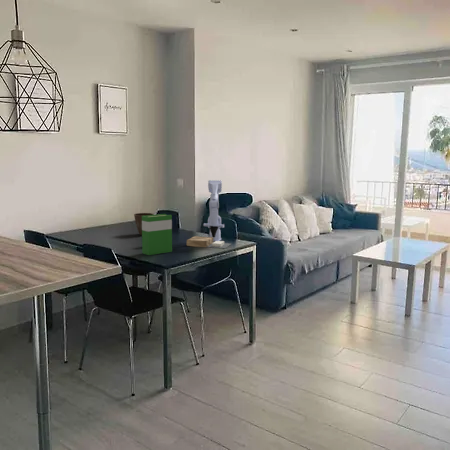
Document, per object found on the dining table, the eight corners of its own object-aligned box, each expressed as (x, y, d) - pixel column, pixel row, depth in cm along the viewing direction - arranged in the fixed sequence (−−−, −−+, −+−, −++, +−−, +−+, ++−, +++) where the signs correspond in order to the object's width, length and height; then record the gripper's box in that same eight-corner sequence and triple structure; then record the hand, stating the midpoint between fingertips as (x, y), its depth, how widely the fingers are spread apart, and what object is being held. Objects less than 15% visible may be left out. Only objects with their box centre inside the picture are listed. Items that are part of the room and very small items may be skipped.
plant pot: (155, 235, 364) (155, 215, 361) (136, 236, 358) (136, 215, 356) (151, 232, 378) (151, 212, 375) (132, 233, 372) (132, 213, 370)
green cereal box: (165, 249, 313) (165, 213, 309) (172, 251, 307) (171, 214, 304) (142, 253, 302) (141, 215, 298) (148, 255, 296) (147, 217, 292)
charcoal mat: (213, 243, 337) (213, 242, 337) (231, 244, 334) (231, 243, 334) (206, 247, 322) (206, 246, 322) (224, 248, 318) (224, 247, 318)
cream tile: (224, 241, 331) (224, 244, 331) (216, 240, 332) (216, 243, 333) (220, 243, 322) (220, 246, 322) (212, 243, 324) (212, 246, 324)
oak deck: (194, 241, 341) (194, 236, 341) (213, 242, 337) (213, 237, 337) (186, 245, 326) (186, 240, 326) (205, 247, 322) (205, 241, 322)
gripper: (202, 217, 324) (202, 237, 326) (222, 219, 320) (222, 238, 322) (205, 216, 331) (205, 235, 333) (225, 217, 327) (225, 237, 329)
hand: (213, 237), depth 328 cm, fingers closed
